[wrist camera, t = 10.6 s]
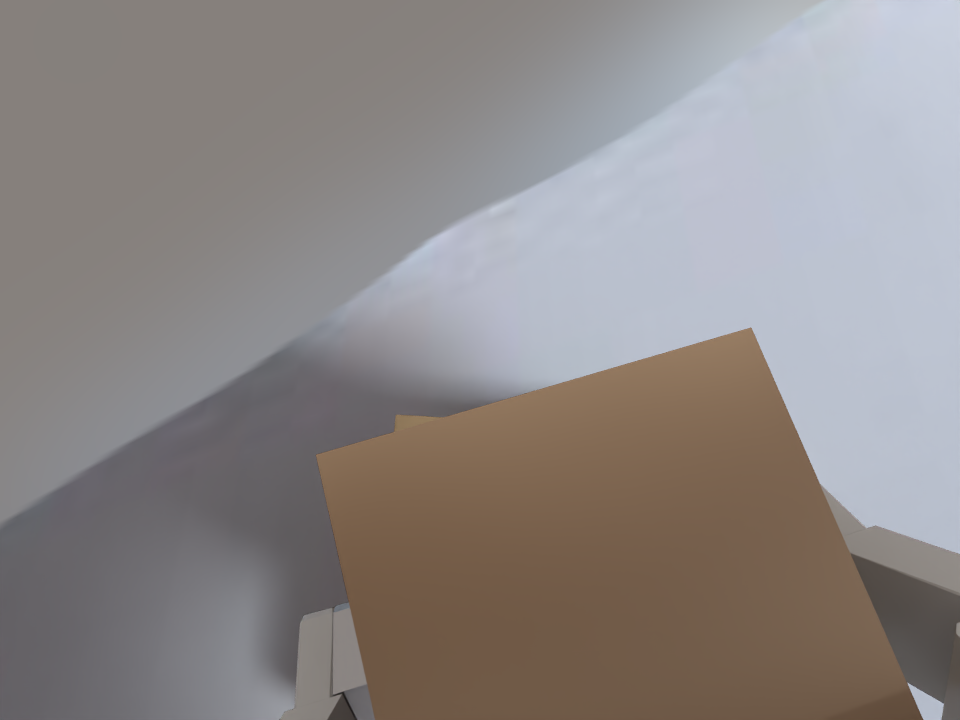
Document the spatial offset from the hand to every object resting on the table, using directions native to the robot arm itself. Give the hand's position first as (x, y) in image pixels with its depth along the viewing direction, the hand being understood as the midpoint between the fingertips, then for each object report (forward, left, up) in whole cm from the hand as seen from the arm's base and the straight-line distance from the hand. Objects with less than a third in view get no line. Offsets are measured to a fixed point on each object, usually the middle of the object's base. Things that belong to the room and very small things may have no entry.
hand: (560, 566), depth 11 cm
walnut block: (0, +1, -5) cm, 5 cm away
